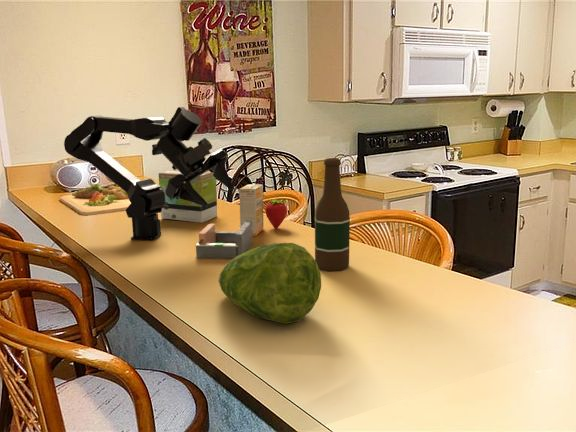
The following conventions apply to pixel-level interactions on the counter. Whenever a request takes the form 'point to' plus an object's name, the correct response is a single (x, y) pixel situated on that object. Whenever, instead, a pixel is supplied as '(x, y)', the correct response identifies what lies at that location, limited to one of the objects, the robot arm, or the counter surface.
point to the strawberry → (276, 212)
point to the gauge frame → (227, 244)
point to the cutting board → (97, 200)
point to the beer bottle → (332, 222)
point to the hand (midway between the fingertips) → (220, 197)
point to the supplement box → (252, 206)
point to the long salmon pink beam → (207, 234)
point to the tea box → (187, 209)
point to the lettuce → (273, 282)
